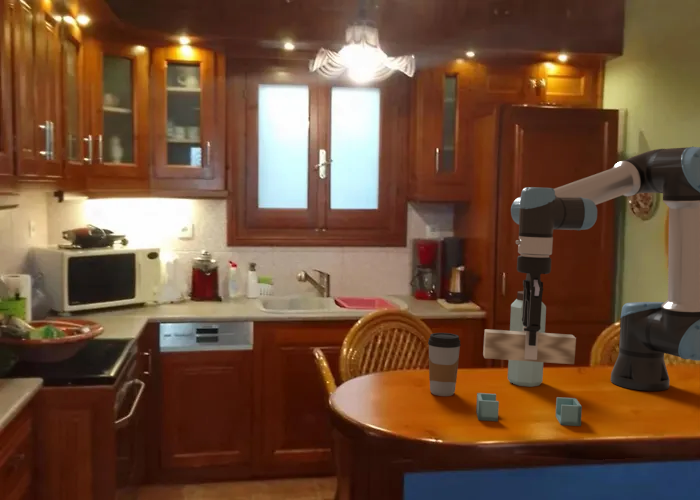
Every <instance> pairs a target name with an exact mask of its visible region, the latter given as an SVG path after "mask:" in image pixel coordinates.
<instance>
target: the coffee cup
mask: <svg viewBox="0 0 700 500" xmlns="http://www.w3.org/2000/svg"><path fill="white" fill-rule="evenodd" d="M429 336H430V337H429V338H428V343H427V344H428V373H429V374H428V375H429V376H428V377H429V391H430V392H431V394H432V395H435V396H440V397H450V396H453V395H454V394H455V392H456V386H457V385H456V384H457V379H458V369H459V362H460V361H459V359H460V357H459V356H460V347H461V340H460V337H459V335H458V334H454V333H451V332H450V333H448V332H433V333H431V334H430V335H429Z"/></svg>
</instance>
